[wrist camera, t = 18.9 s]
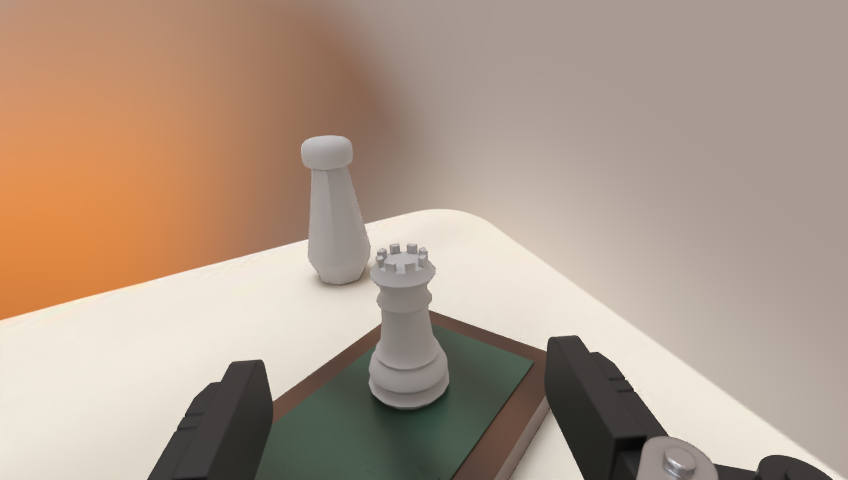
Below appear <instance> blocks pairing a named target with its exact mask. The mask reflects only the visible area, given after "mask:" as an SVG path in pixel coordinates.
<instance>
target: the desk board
mask: <svg viewBox="0 0 848 480" xmlns="http://www.w3.org/2000/svg"><path fill="white" fill-rule="evenodd" d="M428 312H429V317H430V323H431V328H432V333H433V335H434V337H435V338H436V340H437V341H438V343H439V345H440V347H441V348H442V350H443V351H444V352H445V354H446V357H447V366H448V371H449V384H448V385H447V387H446V389H445V391H444V393H443V394H442V395H441V396H440V397H439V398H437V399H436V400H435V401H433V402H432V403H431V404H429V405H428V406H425V407H421V408H418V409H415V410H400V409H397V408H393V407H390V406H387V405H386V404H385V403H383V402H382V401H381V400H379V399H378V398H377V397H376V396H375V395H373V393H372V391H371V388H370V386H369V379H370V373H369V366H370V361H371V357H372V354H373V353H374V352H375V350H376V345H377V343H378V342H379V341H380V338H381V325H382V323H381V324H380V325H378V326H377V327H376V328H374V329H373V330H371V331H370V332H369V333H367V334H366V335H365V336H363V337H362V338H360V339H359V340H358V341H356V342H355V343H354V344H352V345H351V346H349V347H348V348H347V349H345V350H344V351H342V352H341V353H340V354H338V355H337V356H336V357H334V358H333V359H331V360H330V361H329V362H327V363H326V364H325V365H323V366H322V367H320V368H319V369H318V370H316V371H315V372H313V373H312V374H311V375H309V376H308V377H307V378H305V379H304V380H302V381H301V382H300V383H298V384H297V385H296V386H294V387H293V388H291V389H290V390H289V391H287V392H286V393H284V394H283V395H282V396H280V397H279V398H278V399H276V400H275V401H273V422H272V426H271V430H270V433H269V436H268V439H267V442H266V445H265V448H264V452H263V455H262V458H261V461H260V464H259V467H258V470H257V473H256V476H255V480H509V478H510V476H511V475H512V473H513V471H514V469H515V468H516V466H517V464H518V462H519V461H520V459H521V457H522V455H523V454H524V452H525V450H526V449H527V447H528V445H529V443H530V442H531V440H532V438H533V436H534V435H535V433H536V431H537V430H538V428H539V426H540V424H541V423H542V421H543V419H544V417H545V416H546V414H547V412H548V410H549V409H550V406H549V404H548V401H547V398H546V394H545V388H544V375H545V365H546V355H547V352H546V351H543V350H540V349H538V348H535V347H532V346H529V345H526V344H523V343H521V342H518V341H515V340H512V339H509V338H507V337H504V336H501V335H498V334H495V333H492V332H490V331H487V330H484V329H481V328H478V327H475V326H473V325H470V324H467V323H464V322H461V321H458V320H456V319H453V318H450V317H447V316H444V315H441V314H439V313H436V312H433V311H430V310H428Z"/></svg>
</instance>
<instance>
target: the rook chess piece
mask: <svg viewBox="0 0 848 480" xmlns="http://www.w3.org/2000/svg"><path fill="white" fill-rule="evenodd" d="M434 275H435V267H434V266H433V265H432V264H431V263H430V261H429V260H428V255H427V250H426V249H425V248H424V247H423V248H419V253H417V245H416V244H409V243H408V245H407V252H400V248H399V244H394V245H390V254H388V255H387V252H386V249H383V248H381V249H380V250H379V251H378V252H377V256H376V263H375V265H374V266H373V267H372V269H371V271H370V277H371V279H372V280H373V282H374V283H375V284H376V285H377V286H378V287H379V288H380V290H381V292H380V294H379V295H378V297H377V303H378V305H379V307H380V308H381V312H382V325H381V338H380V341H379V342H378V343H377V345H376V350H375V352H374V353H373V354H372V357H371V361H370V366H369V373H370V379H369V386H370V388H371V391H372V393H373V395H375V396H376V397H377V398H378V399H379V400H381V401H382V402H383V403H385V404H386V405H387V406H390V407H393V408H397V409H400V410H415V409H418V408H421V407H425V406H428V405H429V404H431V403H432V402H433V401H435V400H436V399H437V398H439V397H440V396H441V395H442V394H443V393H444V391H445V389H446V387H447V385H448V384H449V371H448V366H447V357H446V354H445V352H444V351H443V350H442V348H441V347H440V345H439V343H438V341H437V340H436V338H435V337H434V335H433V333H432V328H431V323H430V317H429V312H428V304H429V303H430V302H431V301H432V294H431V293H430V292H429V291H428V290H427V284H428V283H429V282H430V280H431V279H432V278H433V276H434Z"/></svg>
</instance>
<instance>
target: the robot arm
mask: <svg viewBox="0 0 848 480" xmlns="http://www.w3.org/2000/svg"><path fill="white" fill-rule="evenodd" d="M544 388H545V394H546V398H547V401H548V404H549V406H550V408H551V410H552V412H553V414H554V416H555V418H556V421H557V423H558V425H559V427H560V429H561V431H562V433H563V435H564V437H565V440H566V442H567V444H568V446H569V448H570V450H571V452H572V454H573V457H574V459H575V461H576V463H577V465H578V467H579V469H580V471H581V474H582V476H583V478H584V480H833V479H831V478H830V477H829V476H828V475H826V474H825V473H824V472H822V471H820V470H819V469H817V468H816V467H814V466H812V465H810V464H808V463H806V462H804V461H801V460H798V459H796V458H792V457H788V456H783V455H771V456H767V457H765V458H763V459H762V460H761V461H760V463H759V466H758V468H757V471H756V472H755V471H750V470H745V469H739V468H734V467H729V466H723V465H718V464H714V463H712V462H711V460H710V459H709V458H708V457H707V456H706V455H705V454H704V453H703V452H702V451H700V450H699V449H698V448H696V447H695V446H693V445H691V444H689V443H688V442H685V441H683V440H680V439H677V438H673V437H670V436H669V435H668V434H667V433H666V431H665V430H664V429H663V427H662V426H661V425H660V423H659V422H658V421H657V419H656V418H655V417H654V415H653V414H652V413H651V411H650V410H649V409H648V407H647V406H646V405H645V403H644V402H643V401H642V399H641V398H640V397H639V395H638V394H637V393H636V392H634V389H633V387H632V386H631V385H630V384H629V382H628V381H627V380H625V377H624V376H623V374H622V373H621V372H620V370H619V369H618V368H617V366H616V365H615V364H614V363H613V362H612V361H610V360H609V359H607V358H606V357H605V356H603V355H602V354H600V353H599V352H591V353H590V352H589V351H588V349H587V348H586V346H585V345H584V343H583V342H582V341H581V339H580V338H579V337H578V336H576V335H574V336H560V337H550V338H549V340H548V345H547V355H546V365H545V375H544ZM272 422H273V401H272V397H271V392H270V388H269V383H268V379H267V374H266V369H265V365H264V362H263V361H262V360H249V361H235V362H232V363H231V364H230V365H229V367H228V369H227V371H226V373H225V375H224V377H223V378H222V380H221V382H214V383H210V384H209V385H208V386H207V387H206V388H205V389H204V390H202V391H201V392H200V393H199V394H198V395H197V396H196V397H195V398H194V400H193V401H192V403H191V405H190V406H189V408H188V410H187V412H186V413H185V417H183V419H182V420H181V422H180V424H179V425H178V427H177V432H174V434H173V436H172V438H171V439H170V441H169V443H168V444H167V446H166V448H165V450H164V451H163V453H162V455H161V457H160V458H159V460H158V462H157V463H156V465H155V467H154V469H153V470H152V472H151V474H150V475H149V477H148V479H147V480H255V476H256V473H257V470H258V467H259V464H260V461H261V458H262V455H263V452H264V448H265V445H266V442H267V439H268V436H269V433H270V430H271V426H272Z"/></svg>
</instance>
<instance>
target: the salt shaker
mask: <svg viewBox="0 0 848 480" xmlns="http://www.w3.org/2000/svg"><path fill="white" fill-rule="evenodd" d="M301 156H302V161H303V164H304V165H305V166H306V167H308V168H311V169H312V174H311V175H312V176H311V205H310V225H309V243H308V259H309V262H310V263H311V264H312V266H313V267H314V268H315V269H316V271H317V273H318V274H319V276H320V278H321V279H322V281H323V282H324V283H331V284H337V285H342V284H346V283H349V282H353V281H356V280H359V279H360V277H361V275H362V273H363V271H364V268H365V266H366V264H367V262H368V260H369V257H370V247H371V246H370V243H369V239H368V236H367V232H366V229H365V226H364V222H363V219H362V215H361V212H360V208H359V206H358V202H357V198H356V195H355V191H354V188H353V184H352V181H351V178H350V174H349V171H348V167H347V165H348V164H350V163H351V162H352V158H353V149H352V145H351V142H350V141H349V140H348V139H346V138H344V137H340V136H318V137H313V138H310V139H307V140H306V141H305V142H304V143H303V145H302V146H301Z"/></svg>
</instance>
